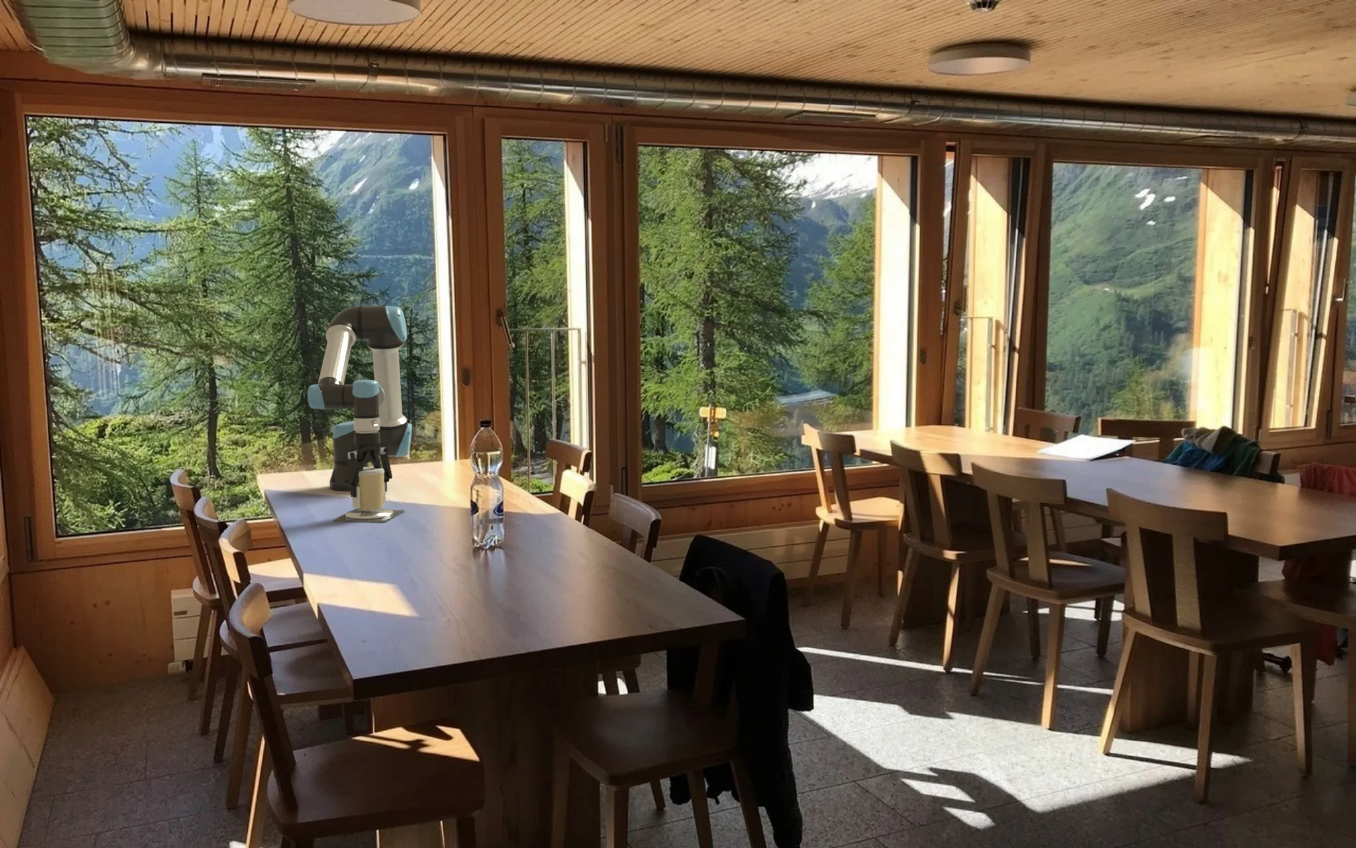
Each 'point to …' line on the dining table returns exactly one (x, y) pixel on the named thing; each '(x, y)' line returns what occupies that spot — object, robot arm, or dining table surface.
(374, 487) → the coffee cup
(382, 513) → the flange plate
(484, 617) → the dining table surface
